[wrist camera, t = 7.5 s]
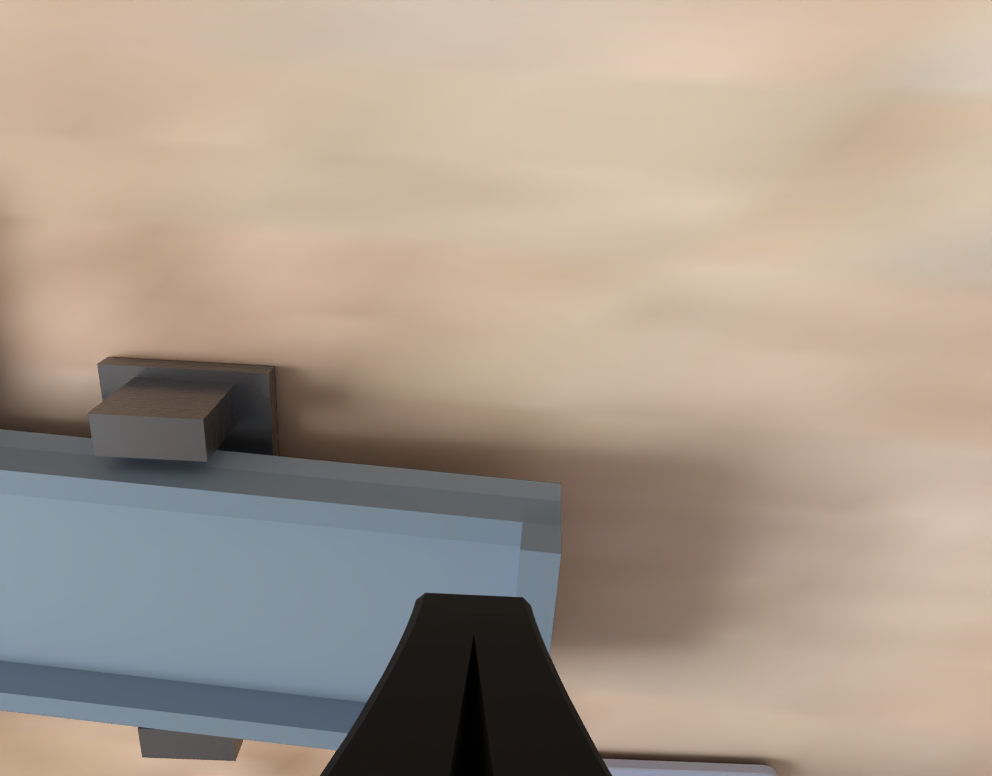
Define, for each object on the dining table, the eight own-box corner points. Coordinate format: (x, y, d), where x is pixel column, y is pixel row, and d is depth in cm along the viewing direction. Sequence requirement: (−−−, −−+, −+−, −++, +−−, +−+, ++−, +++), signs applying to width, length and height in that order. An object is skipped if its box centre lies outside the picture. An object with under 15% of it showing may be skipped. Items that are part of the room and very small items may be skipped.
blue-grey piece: (535, 709, 19) (531, 814, 17) (-100, 637, 20) (-208, 724, 18) (587, 241, 15) (593, 274, 12) (-238, 176, 16) (-416, 192, 13)
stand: (291, 694, 21) (266, 770, 19) (155, 689, 21) (112, 764, 19) (274, 366, 18) (240, 408, 15) (107, 356, 17) (46, 398, 15)
